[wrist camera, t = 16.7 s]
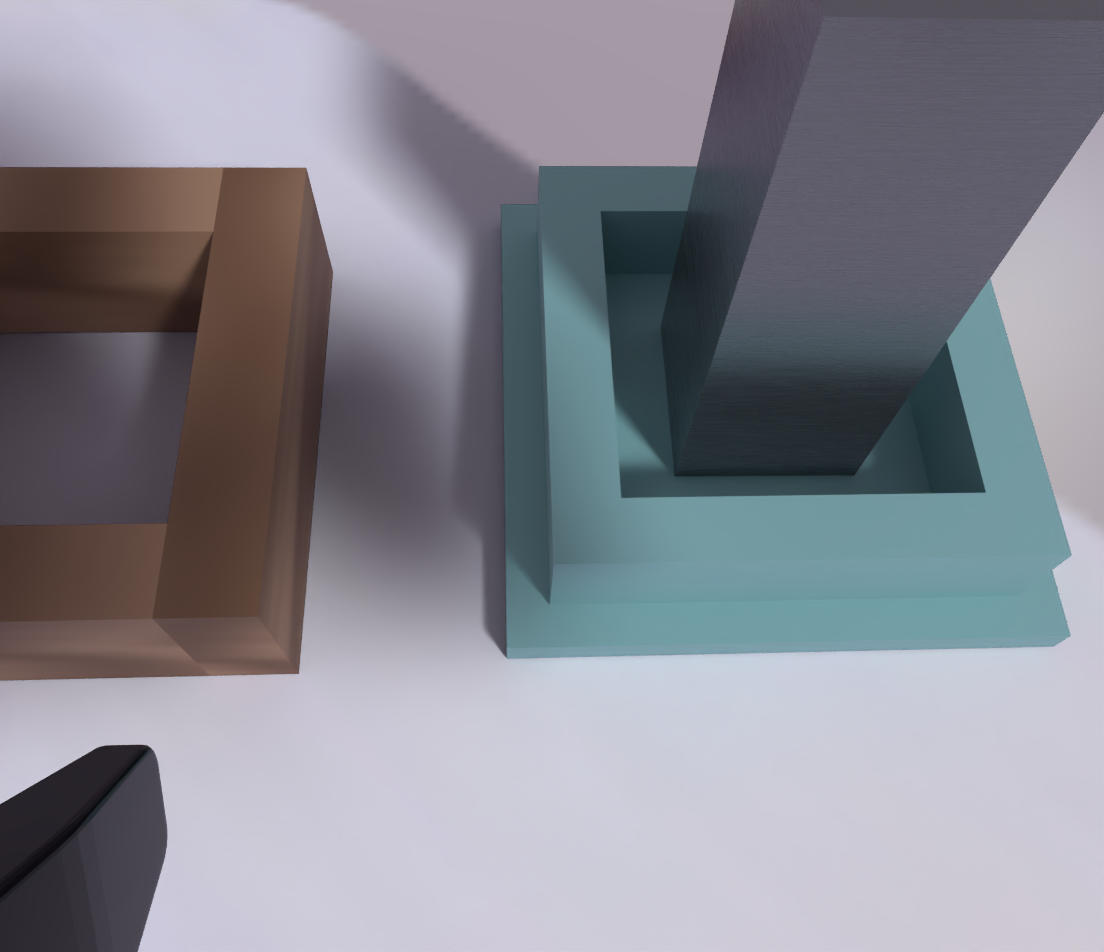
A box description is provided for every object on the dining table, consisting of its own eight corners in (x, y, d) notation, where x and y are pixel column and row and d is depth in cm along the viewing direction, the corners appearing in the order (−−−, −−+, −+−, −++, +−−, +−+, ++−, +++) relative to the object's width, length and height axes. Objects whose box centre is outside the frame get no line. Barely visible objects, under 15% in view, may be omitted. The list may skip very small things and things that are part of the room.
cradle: (938, 223, 29) (985, 139, 26) (1053, 646, 23) (1131, 599, 20) (501, 223, 29) (500, 137, 26) (507, 658, 23) (505, 611, 20)
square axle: (827, 326, 26) (1073, -182, 15) (854, 475, 24) (1165, 21, 13) (660, 326, 26) (778, -189, 15) (674, 476, 24) (823, 17, 13)
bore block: (332, 272, 28) (306, 167, 24) (298, 673, 22) (258, 616, 19) (-88, 273, 27) (-180, 166, 23) (-224, 685, 22) (-367, 629, 18)
